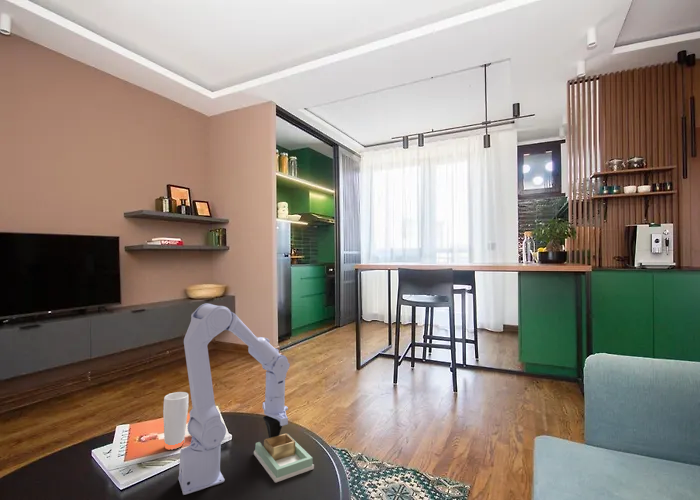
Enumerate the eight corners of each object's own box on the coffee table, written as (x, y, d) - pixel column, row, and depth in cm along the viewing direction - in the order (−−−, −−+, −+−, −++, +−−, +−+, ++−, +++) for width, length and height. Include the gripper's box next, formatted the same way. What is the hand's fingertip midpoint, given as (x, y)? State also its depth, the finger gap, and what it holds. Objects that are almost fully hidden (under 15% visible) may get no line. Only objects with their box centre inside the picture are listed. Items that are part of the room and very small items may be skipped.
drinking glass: (164, 442, 105) (166, 392, 106) (188, 439, 107) (190, 390, 108) (158, 454, 98) (161, 400, 99) (184, 450, 100) (187, 398, 101)
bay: (275, 482, 86) (275, 470, 86) (253, 454, 99) (254, 443, 99) (313, 468, 92) (314, 457, 92) (288, 443, 105) (289, 433, 105)
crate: (271, 461, 93) (272, 448, 93) (263, 452, 98) (264, 439, 98) (295, 454, 97) (295, 441, 97) (286, 445, 102) (286, 433, 102)
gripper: (298, 399, 98) (296, 448, 98) (277, 385, 110) (276, 428, 109) (274, 404, 94) (273, 455, 94) (256, 389, 106) (255, 434, 105)
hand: (273, 441), depth 101 cm, fingers closed
